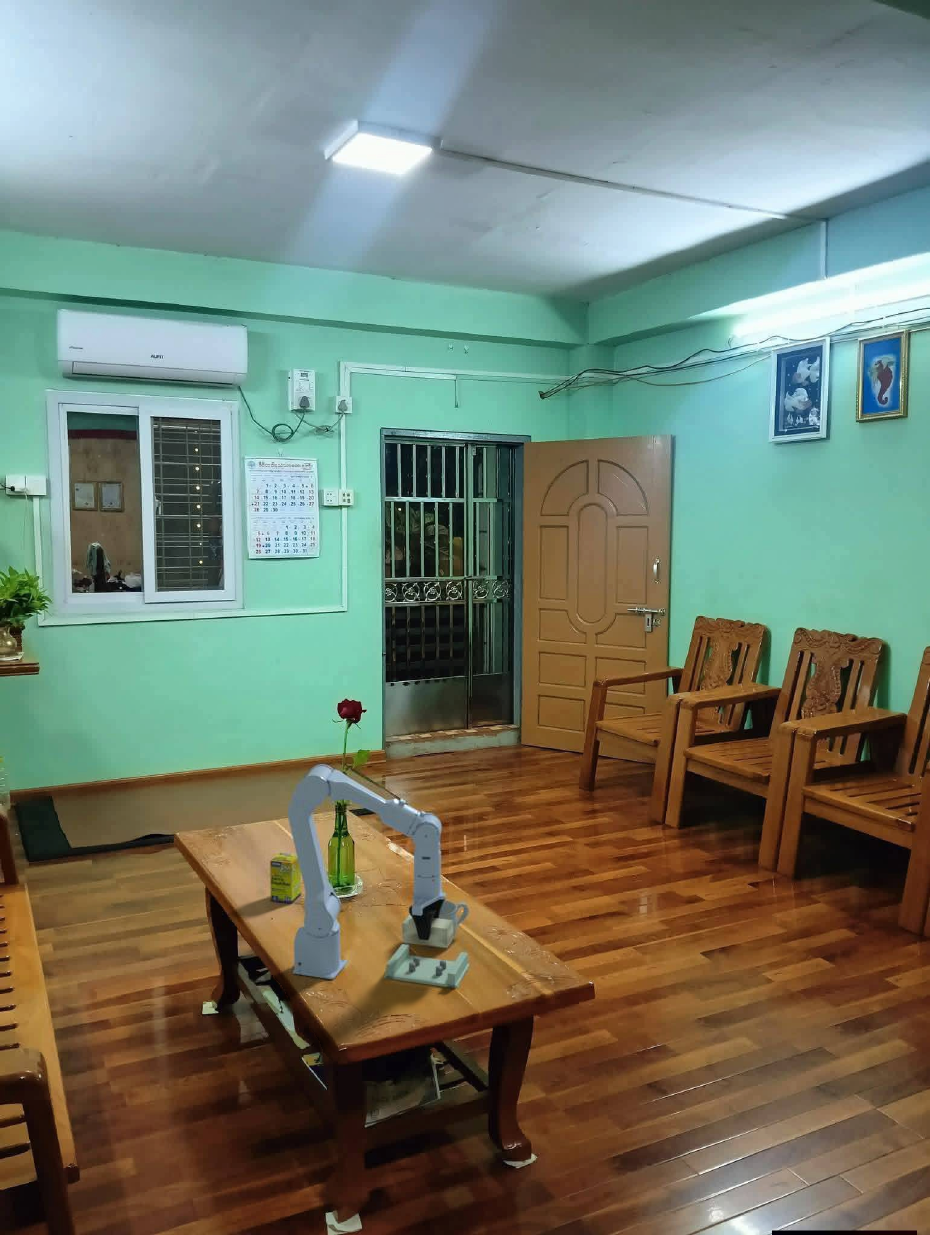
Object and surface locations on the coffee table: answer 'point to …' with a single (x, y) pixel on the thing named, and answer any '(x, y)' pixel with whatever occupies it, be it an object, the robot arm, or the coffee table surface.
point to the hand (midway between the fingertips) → (427, 934)
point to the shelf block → (438, 936)
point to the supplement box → (285, 878)
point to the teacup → (453, 913)
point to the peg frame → (426, 969)
